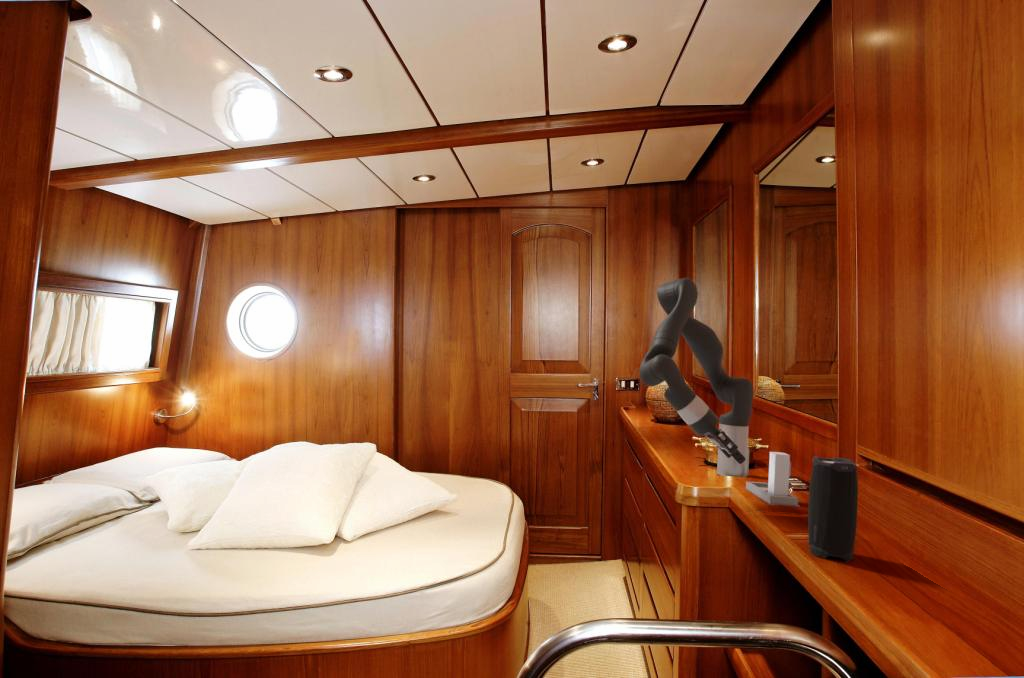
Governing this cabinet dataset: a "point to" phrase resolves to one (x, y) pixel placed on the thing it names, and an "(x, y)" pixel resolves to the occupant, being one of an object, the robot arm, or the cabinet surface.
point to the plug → (779, 473)
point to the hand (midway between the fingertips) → (736, 458)
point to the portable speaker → (833, 507)
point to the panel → (762, 492)
